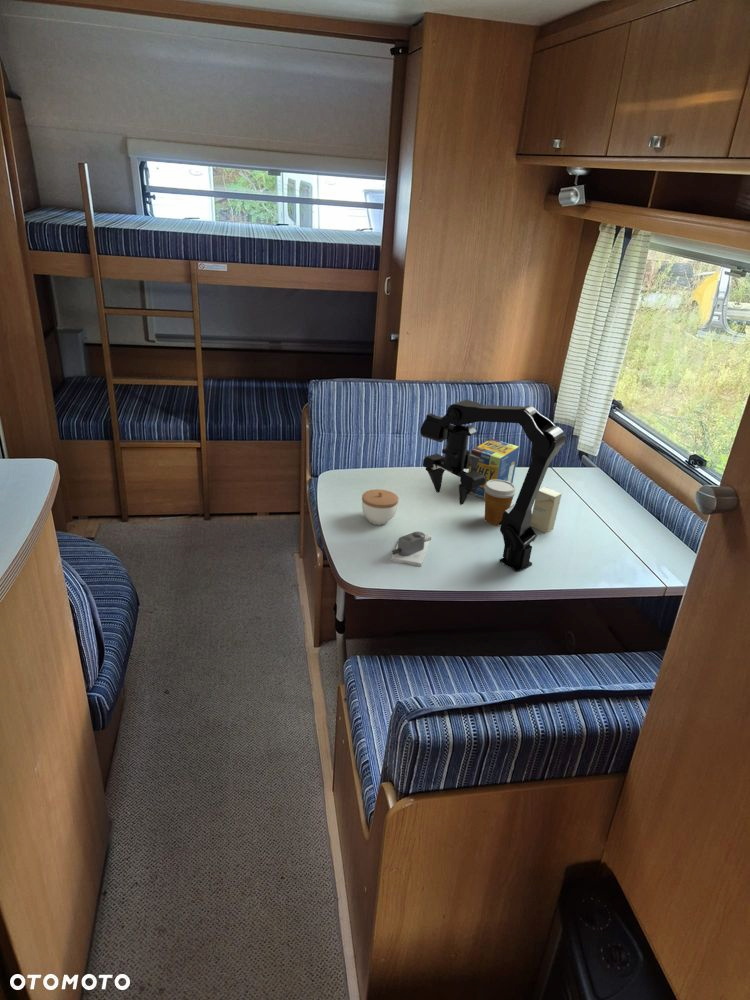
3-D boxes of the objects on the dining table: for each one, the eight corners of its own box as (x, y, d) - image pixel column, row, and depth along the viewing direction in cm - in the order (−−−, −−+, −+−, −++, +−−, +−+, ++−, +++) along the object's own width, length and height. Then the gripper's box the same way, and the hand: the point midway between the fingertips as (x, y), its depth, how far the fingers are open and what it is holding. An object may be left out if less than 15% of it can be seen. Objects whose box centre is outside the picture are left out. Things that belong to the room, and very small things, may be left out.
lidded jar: (364, 529, 189) (366, 500, 185) (357, 512, 198) (359, 484, 194) (400, 528, 191) (402, 499, 187) (391, 511, 201) (394, 483, 197)
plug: (397, 560, 173) (398, 546, 171) (388, 554, 175) (389, 541, 173) (432, 545, 181) (433, 533, 179) (423, 540, 183) (424, 528, 181)
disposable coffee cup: (515, 526, 197) (522, 491, 192) (487, 529, 194) (493, 493, 189) (501, 512, 205) (507, 477, 200) (474, 514, 202) (479, 479, 197)
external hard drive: (428, 546, 184) (420, 568, 173) (400, 541, 185) (390, 562, 174) (429, 541, 183) (421, 562, 172) (400, 536, 185) (391, 557, 174)
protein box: (464, 493, 217) (470, 449, 210) (485, 479, 228) (491, 437, 222) (493, 502, 212) (500, 458, 205) (512, 488, 223) (520, 445, 217)
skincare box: (529, 525, 198) (536, 489, 193) (536, 521, 201) (543, 485, 196) (547, 533, 194) (555, 496, 189) (554, 529, 197) (562, 492, 192)
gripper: (502, 452, 176) (493, 503, 182) (451, 431, 188) (445, 480, 195) (474, 460, 169) (466, 513, 176) (424, 438, 181) (418, 488, 188)
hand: (449, 498), depth 184 cm, fingers open, 9 cm apart
